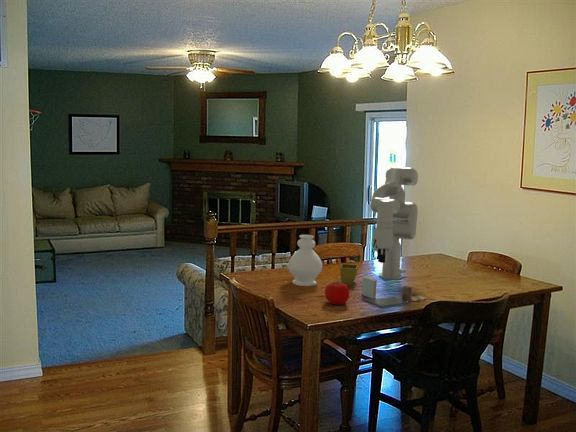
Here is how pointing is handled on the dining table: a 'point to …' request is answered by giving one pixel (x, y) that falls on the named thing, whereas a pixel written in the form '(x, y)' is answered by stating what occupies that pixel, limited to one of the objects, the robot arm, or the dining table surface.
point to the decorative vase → (305, 262)
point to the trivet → (387, 302)
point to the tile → (369, 287)
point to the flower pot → (348, 273)
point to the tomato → (337, 293)
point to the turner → (408, 292)
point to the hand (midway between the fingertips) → (381, 262)
